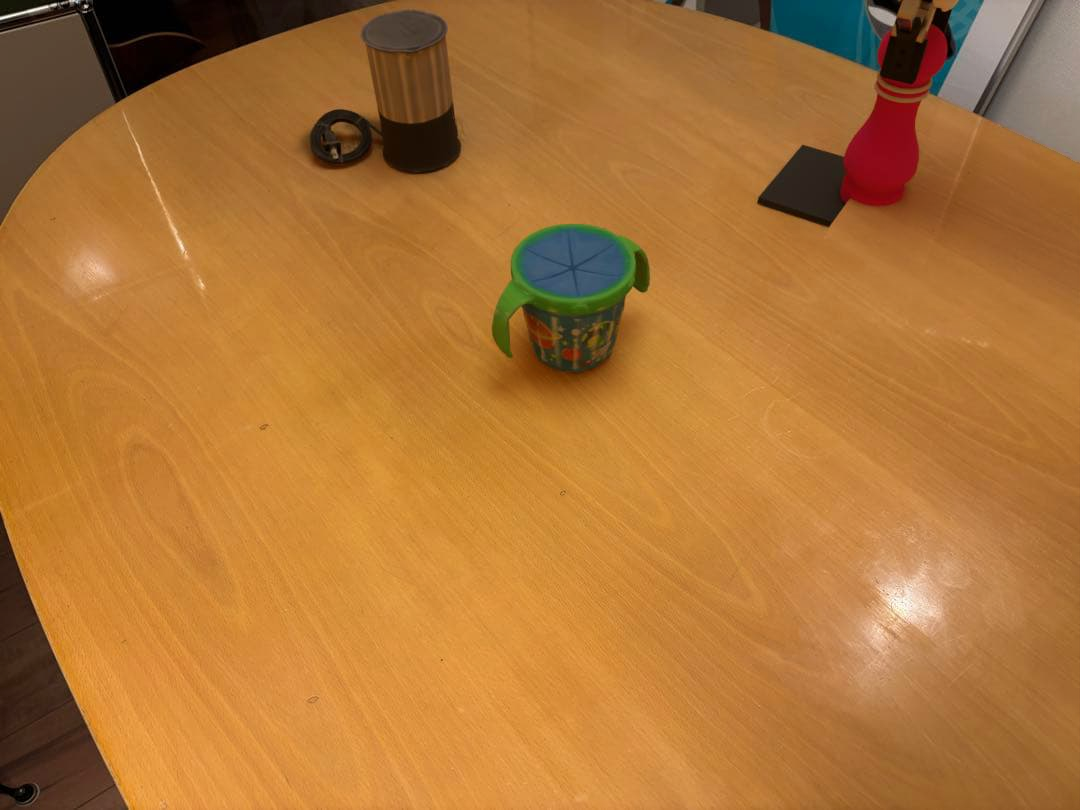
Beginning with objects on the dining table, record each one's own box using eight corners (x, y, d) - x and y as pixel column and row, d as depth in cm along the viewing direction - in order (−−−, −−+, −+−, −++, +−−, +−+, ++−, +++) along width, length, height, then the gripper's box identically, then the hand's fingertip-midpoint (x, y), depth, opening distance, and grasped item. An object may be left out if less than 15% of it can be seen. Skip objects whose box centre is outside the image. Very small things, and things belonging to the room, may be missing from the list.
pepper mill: (900, 179, 94) (960, -9, 79) (910, 219, 90) (975, 27, 75) (832, 176, 95) (878, -11, 80) (837, 215, 90) (888, 25, 76)
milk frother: (476, 156, 101) (464, 31, 90) (355, 205, 96) (325, 78, 85) (417, 106, 110) (399, -14, 98) (302, 148, 104) (269, 25, 93)
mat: (979, 203, 92) (982, 197, 92) (945, 265, 86) (947, 259, 85) (801, 150, 100) (802, 144, 100) (757, 203, 94) (758, 197, 93)
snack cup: (616, 286, 85) (619, 199, 78) (676, 352, 79) (687, 264, 72) (472, 342, 81) (461, 255, 73) (524, 416, 75) (518, 329, 67)
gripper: (993, -115, 62) (919, 116, 75) (1052, -181, 71) (977, 35, 84) (889, -132, 65) (836, 94, 78) (958, -193, 74) (900, 18, 87)
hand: (909, 62), depth 81 cm, fingers closed on pepper mill, 6 cm apart
